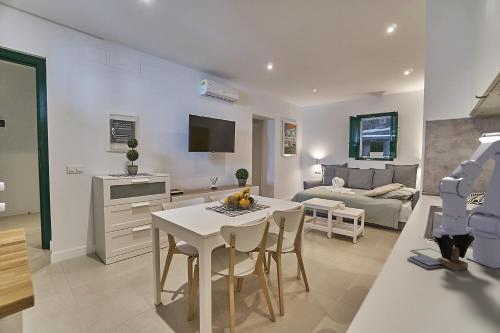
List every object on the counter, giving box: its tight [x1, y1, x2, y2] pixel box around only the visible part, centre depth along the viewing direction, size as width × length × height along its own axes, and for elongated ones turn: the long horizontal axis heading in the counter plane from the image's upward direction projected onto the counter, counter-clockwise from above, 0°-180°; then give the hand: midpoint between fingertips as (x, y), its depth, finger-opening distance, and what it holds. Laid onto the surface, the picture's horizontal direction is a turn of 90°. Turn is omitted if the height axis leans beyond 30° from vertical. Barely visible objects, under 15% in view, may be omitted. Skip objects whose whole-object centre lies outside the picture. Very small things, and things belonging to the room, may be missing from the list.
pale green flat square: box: [410, 247, 442, 262], centre depth 82 cm, size 9×9×1 cm
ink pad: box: [406, 255, 446, 270], centre depth 75 cm, size 7×7×1 cm
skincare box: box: [432, 211, 453, 239], centre depth 95 cm, size 6×4×12 cm
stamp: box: [438, 246, 469, 272], centre depth 73 cm, size 5×5×6 cm
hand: (453, 257), depth 73 cm, fingers open, 5 cm apart
